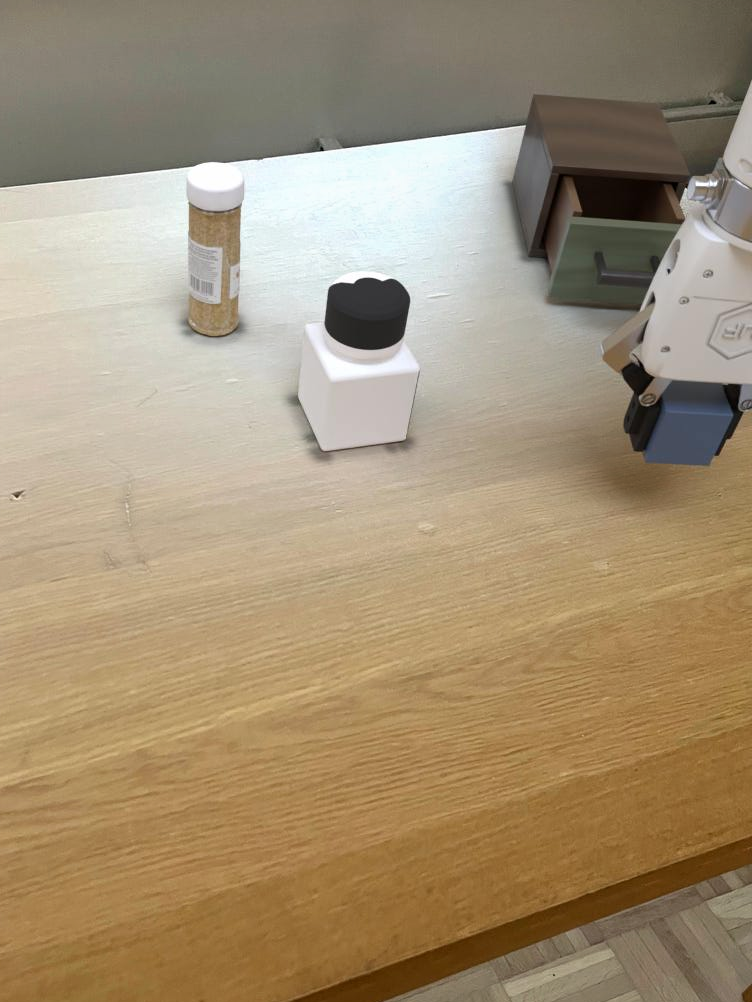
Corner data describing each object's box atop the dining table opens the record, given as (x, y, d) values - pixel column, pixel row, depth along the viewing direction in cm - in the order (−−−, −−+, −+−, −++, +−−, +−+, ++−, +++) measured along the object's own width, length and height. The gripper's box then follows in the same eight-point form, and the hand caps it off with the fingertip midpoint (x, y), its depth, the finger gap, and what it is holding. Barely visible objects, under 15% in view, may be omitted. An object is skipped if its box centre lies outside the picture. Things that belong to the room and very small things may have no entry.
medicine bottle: (407, 442, 84) (434, 310, 75) (321, 453, 82) (338, 320, 73) (378, 387, 88) (400, 255, 79) (296, 397, 87) (309, 264, 77)
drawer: (681, 334, 94) (712, 259, 89) (554, 325, 94) (577, 249, 88) (643, 229, 105) (669, 157, 100) (530, 221, 105) (549, 148, 100)
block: (695, 424, 78) (718, 373, 74) (709, 466, 75) (734, 415, 71) (633, 421, 78) (653, 369, 74) (644, 463, 75) (666, 411, 71)
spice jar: (249, 327, 93) (256, 178, 82) (207, 344, 91) (209, 194, 80) (217, 302, 95) (221, 154, 84) (176, 318, 93) (174, 169, 82)
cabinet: (656, 265, 103) (690, 175, 96) (528, 256, 103) (553, 164, 96) (629, 190, 112) (658, 103, 105) (511, 182, 112) (533, 93, 105)
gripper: (644, 227, 59) (561, 470, 74) (942, 244, 60) (802, 483, 74) (621, 161, 64) (547, 401, 78) (897, 177, 64) (774, 414, 79)
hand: (672, 439), depth 76 cm, fingers closed on block, 4 cm apart
